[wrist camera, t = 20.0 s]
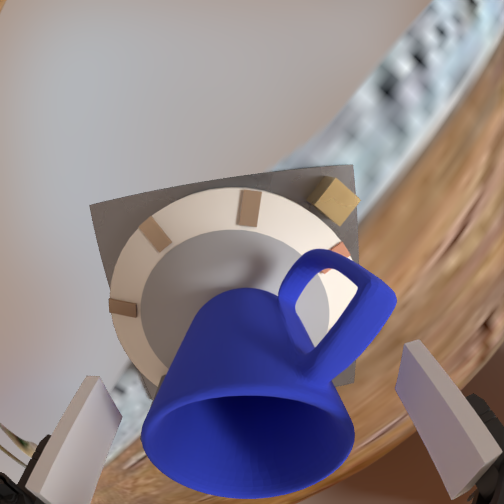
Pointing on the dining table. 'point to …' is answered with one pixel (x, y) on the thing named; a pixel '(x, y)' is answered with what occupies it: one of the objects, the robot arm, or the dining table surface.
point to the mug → (263, 388)
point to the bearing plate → (279, 182)
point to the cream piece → (217, 268)
